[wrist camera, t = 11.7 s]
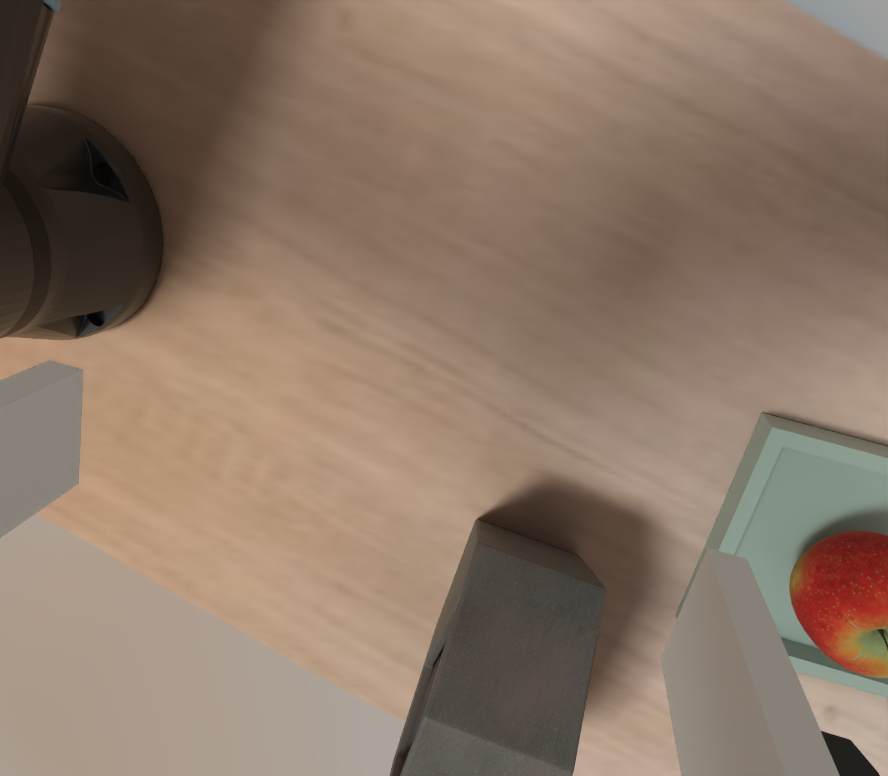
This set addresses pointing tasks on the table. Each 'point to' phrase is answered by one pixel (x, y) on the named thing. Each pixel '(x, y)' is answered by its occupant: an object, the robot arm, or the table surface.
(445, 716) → the grey hexagonal block
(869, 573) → the apple
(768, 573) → the dish
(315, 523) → the table surface
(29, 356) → the table surface
